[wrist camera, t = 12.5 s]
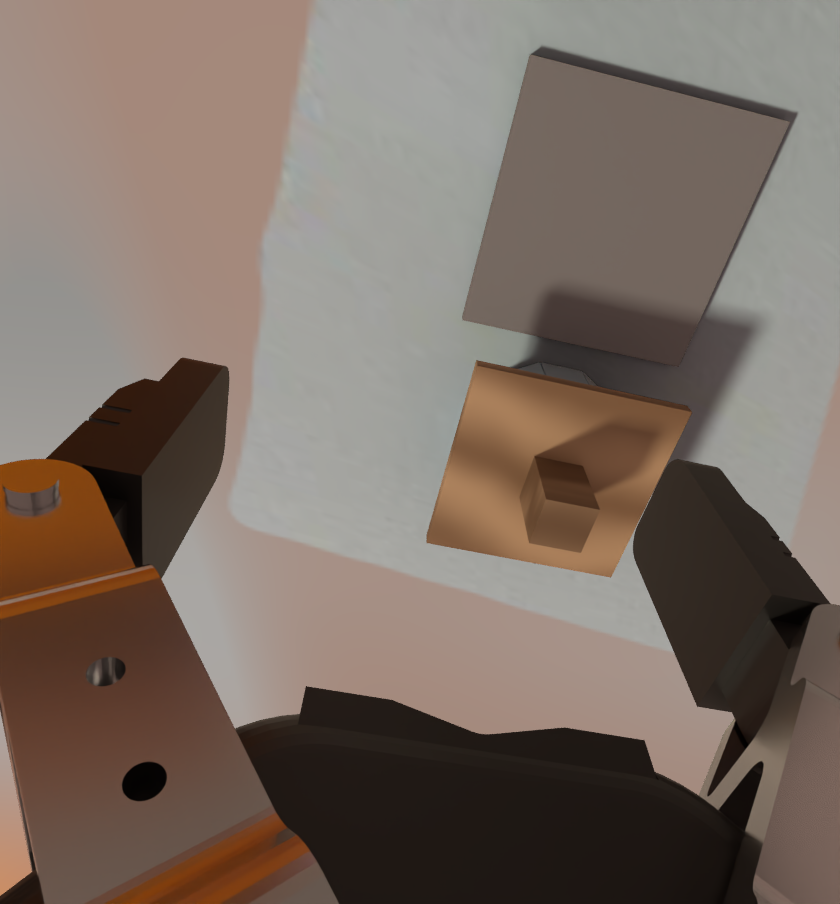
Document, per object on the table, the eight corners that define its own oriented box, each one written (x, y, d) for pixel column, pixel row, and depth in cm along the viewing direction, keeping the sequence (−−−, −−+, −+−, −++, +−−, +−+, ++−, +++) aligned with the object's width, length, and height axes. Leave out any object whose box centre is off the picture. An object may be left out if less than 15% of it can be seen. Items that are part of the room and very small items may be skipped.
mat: (529, 55, 32) (531, 54, 31) (784, 121, 33) (790, 121, 33) (462, 316, 39) (462, 319, 38) (675, 363, 40) (678, 367, 40)
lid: (476, 360, 35) (482, 401, 30) (687, 405, 36) (723, 452, 32) (426, 535, 41) (425, 591, 37) (608, 569, 42) (629, 628, 38)
